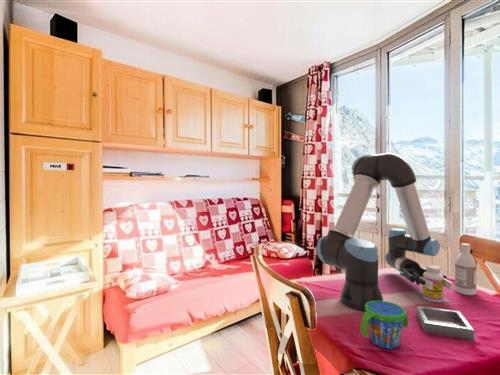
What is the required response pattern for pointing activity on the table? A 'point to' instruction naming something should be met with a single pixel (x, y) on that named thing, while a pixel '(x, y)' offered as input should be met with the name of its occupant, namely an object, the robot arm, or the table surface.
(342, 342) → the table surface
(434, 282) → the supplement bottle
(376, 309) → the snack cup
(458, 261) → the bath foam
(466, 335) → the grey square tray
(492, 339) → the table surface
